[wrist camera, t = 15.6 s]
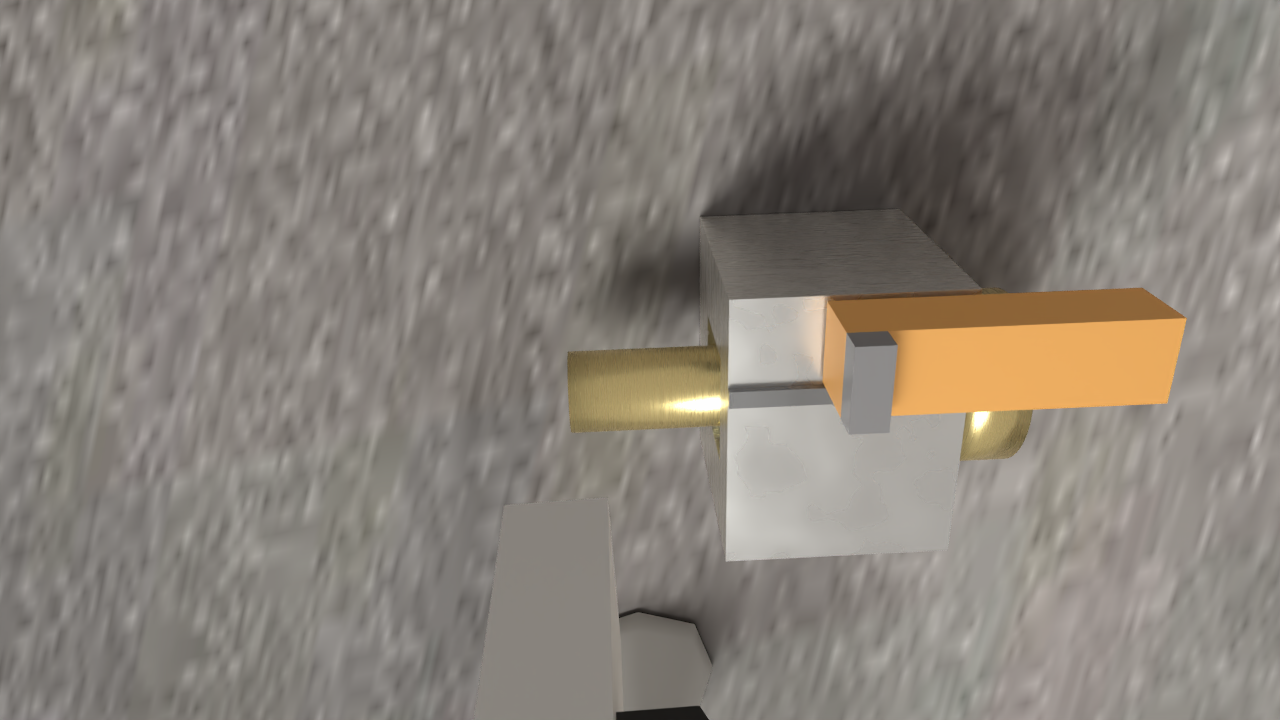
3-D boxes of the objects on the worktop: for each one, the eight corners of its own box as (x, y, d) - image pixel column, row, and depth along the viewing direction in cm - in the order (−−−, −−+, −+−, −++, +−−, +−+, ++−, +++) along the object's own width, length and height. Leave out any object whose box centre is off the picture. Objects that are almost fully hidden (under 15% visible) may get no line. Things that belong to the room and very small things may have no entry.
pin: (566, 280, 37) (562, 348, 31) (976, 263, 38) (1046, 327, 32) (576, 426, 40) (573, 513, 34) (957, 408, 40) (1019, 492, 35)
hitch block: (699, 216, 38) (730, 303, 30) (899, 208, 39) (985, 292, 30) (699, 436, 42) (726, 566, 34) (879, 428, 43) (950, 555, 34)
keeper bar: (827, 300, 30) (855, 347, 27) (1142, 287, 30) (1206, 332, 27) (822, 381, 31) (848, 434, 28) (1125, 367, 32) (1185, 419, 28)
